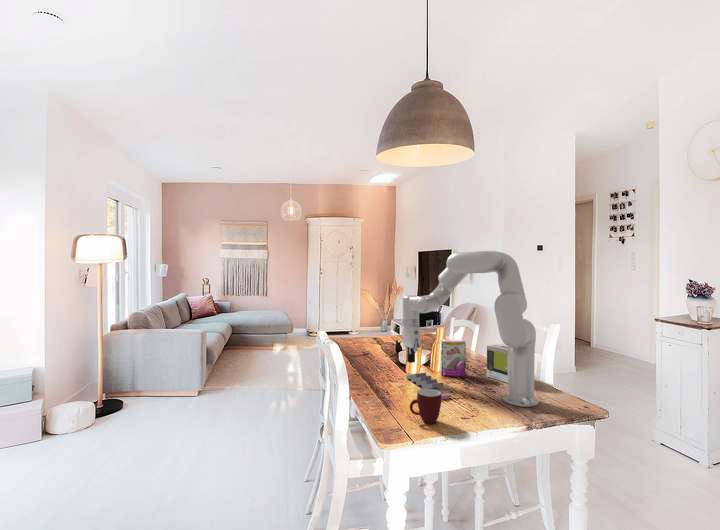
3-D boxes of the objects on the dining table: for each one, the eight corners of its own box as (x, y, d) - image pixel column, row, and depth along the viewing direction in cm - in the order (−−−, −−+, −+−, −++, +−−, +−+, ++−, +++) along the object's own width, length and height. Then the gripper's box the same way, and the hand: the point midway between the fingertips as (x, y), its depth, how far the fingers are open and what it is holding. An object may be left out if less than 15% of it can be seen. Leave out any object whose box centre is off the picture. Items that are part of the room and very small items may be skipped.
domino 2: (421, 381, 177) (431, 379, 168) (411, 382, 176) (421, 380, 167) (420, 377, 178) (431, 375, 169) (410, 378, 176) (420, 376, 167)
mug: (413, 428, 128) (413, 397, 128) (407, 418, 136) (407, 389, 136) (445, 426, 129) (444, 395, 129) (437, 416, 137) (437, 387, 137)
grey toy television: (528, 382, 175) (528, 348, 175) (512, 385, 170) (512, 351, 170) (501, 373, 188) (501, 342, 188) (486, 376, 183) (486, 344, 183)
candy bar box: (441, 376, 184) (441, 341, 184) (440, 373, 189) (440, 339, 189) (466, 377, 183) (465, 341, 183) (464, 373, 188) (464, 339, 188)
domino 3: (426, 384, 173) (437, 383, 164) (416, 385, 171) (426, 384, 162) (426, 380, 173) (436, 379, 164) (415, 381, 172) (426, 380, 163)
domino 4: (432, 387, 167) (443, 386, 158) (422, 388, 166) (432, 388, 157) (432, 383, 168) (442, 382, 159) (421, 384, 167) (431, 383, 157)
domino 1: (416, 378, 182) (426, 376, 173) (406, 379, 180) (416, 377, 171) (415, 374, 182) (425, 372, 173) (406, 375, 181) (415, 373, 172)
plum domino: (437, 391, 164) (450, 398, 155) (426, 392, 163) (439, 400, 153) (437, 387, 164) (450, 394, 155) (426, 388, 163) (439, 396, 153)
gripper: (426, 324, 175) (426, 365, 175) (410, 319, 189) (410, 357, 189) (411, 325, 172) (411, 367, 173) (396, 320, 186) (396, 359, 187)
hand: (411, 362), depth 181 cm, fingers closed
